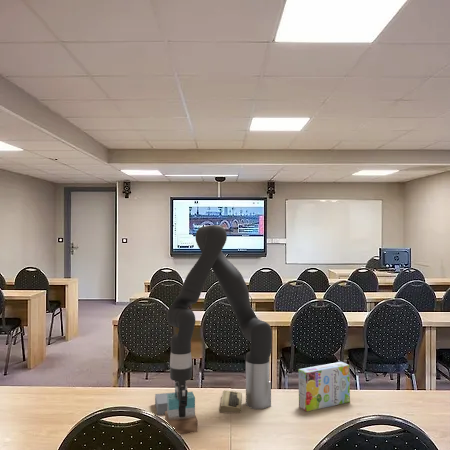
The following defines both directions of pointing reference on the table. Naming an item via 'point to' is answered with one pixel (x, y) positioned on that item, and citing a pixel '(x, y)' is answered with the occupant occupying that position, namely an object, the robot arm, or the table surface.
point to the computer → (231, 402)
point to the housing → (174, 408)
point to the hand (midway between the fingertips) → (180, 412)
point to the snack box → (324, 386)
